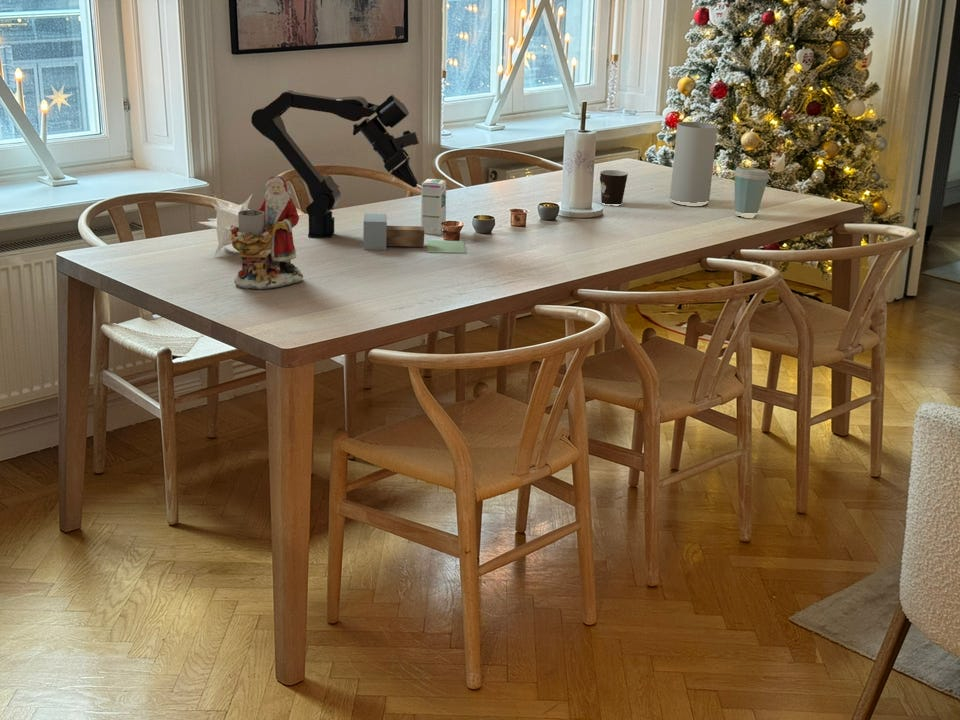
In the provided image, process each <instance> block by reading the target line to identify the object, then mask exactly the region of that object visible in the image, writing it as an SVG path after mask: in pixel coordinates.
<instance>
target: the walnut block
mask: <svg viewBox="0 0 960 720" xmlns="http://www.w3.org/2000/svg"><path fill="white" fill-rule="evenodd" d="M386 247H419V248H420V247H421V248H424V247H425V233H424V226H417V225H415V226H414V225H411V226H410V225H387V232H386Z"/></svg>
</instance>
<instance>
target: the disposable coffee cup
mask: <svg viewBox="0 0 960 720" xmlns="http://www.w3.org/2000/svg"><path fill="white" fill-rule="evenodd" d="M733 175H734V212H735V211H737V212H741V213H757V212H758V213H759V209H760V207H761V203H762V200H763V196H764V193H765V190H766V187H767V183H768V180H769V179H770V175H769V173H768V171H767V170H765V169H760V168H753V167H736V170H734V173H733ZM758 213H757V214H758Z"/></svg>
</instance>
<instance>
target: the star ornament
mask: <svg viewBox="0 0 960 720" xmlns="http://www.w3.org/2000/svg"><path fill="white" fill-rule="evenodd" d="M252 196H253V194H250V196H249V197H248V198H247V199H246V201H244V202H243V203H242V204H237V205H233V206H231V207H228V206H227V205H226V204H224V202H223V201H221V200H220V199H219V198H218V197H216V196H215V195H214V196H213V198H214V199H215V201H216V202H217V205H216V204H214V203H213V202H210V203H211V205H212V207H213V208H214V209H215V211H216V218H207V220H208V221H198V222H197V223H198V224H201V225H205V226H207V227H209V228H213V229H215V230H216V235H217V236H216V237H217V241H218V242H217V243H218V246H217V247H216V251H215V253H214V256H213V257H215V256H216V255H217V254H218V253H219V252H220V251H221V249H223V247H226V246H229V245H232V240H231V238H230V235H231V233H232V232H231V226H233V227H239V225H238V212H240V211H243V210H249V203H250V201H251V198H252Z"/></svg>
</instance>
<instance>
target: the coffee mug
mask: <svg viewBox="0 0 960 720" xmlns="http://www.w3.org/2000/svg"><path fill="white" fill-rule="evenodd" d="M628 175H629V174H628V172H627V171H623V170H615V169H614V170H612V169H605V170H602V171H600V175H599V182H600V196H601V197H600V200H601V202H602V203H605V204H621V203H622V204H623V200H624V197H625V189H626V184H627V181H628ZM601 202H600V203H601Z"/></svg>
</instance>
